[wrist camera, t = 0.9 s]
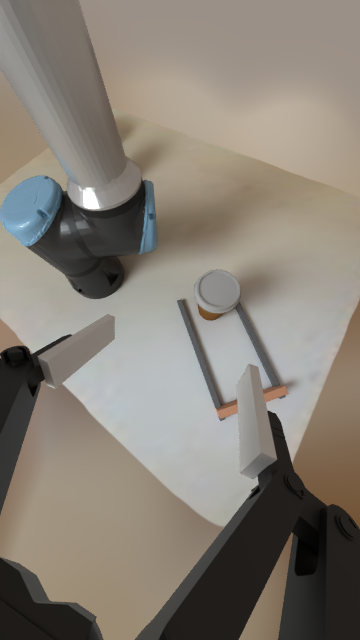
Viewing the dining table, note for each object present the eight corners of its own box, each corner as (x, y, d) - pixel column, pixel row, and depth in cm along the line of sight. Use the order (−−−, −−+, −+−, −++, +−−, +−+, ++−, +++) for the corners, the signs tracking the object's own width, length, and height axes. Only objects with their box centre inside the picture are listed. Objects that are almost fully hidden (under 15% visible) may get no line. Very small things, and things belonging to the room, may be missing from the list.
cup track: (177, 302, 44) (176, 297, 41) (229, 284, 45) (232, 279, 42) (219, 419, 36) (222, 424, 33) (283, 395, 36) (291, 398, 33)
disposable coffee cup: (226, 292, 44) (239, 266, 33) (229, 326, 41) (245, 310, 30) (191, 293, 45) (193, 268, 33) (193, 326, 42) (194, 311, 30)
